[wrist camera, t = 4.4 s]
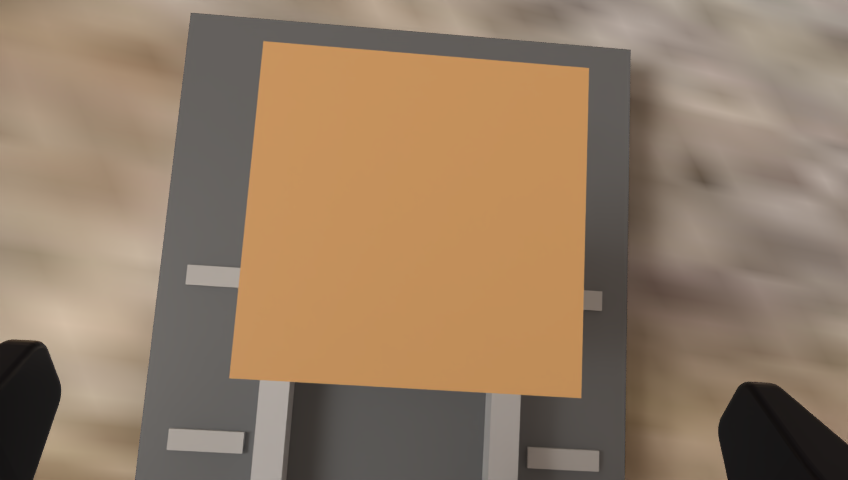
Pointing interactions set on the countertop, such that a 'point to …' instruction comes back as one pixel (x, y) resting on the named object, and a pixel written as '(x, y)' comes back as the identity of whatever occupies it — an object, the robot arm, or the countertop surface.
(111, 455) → the countertop surface
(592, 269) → the grey slider track
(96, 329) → the countertop surface
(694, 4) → the countertop surface
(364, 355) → the fader
